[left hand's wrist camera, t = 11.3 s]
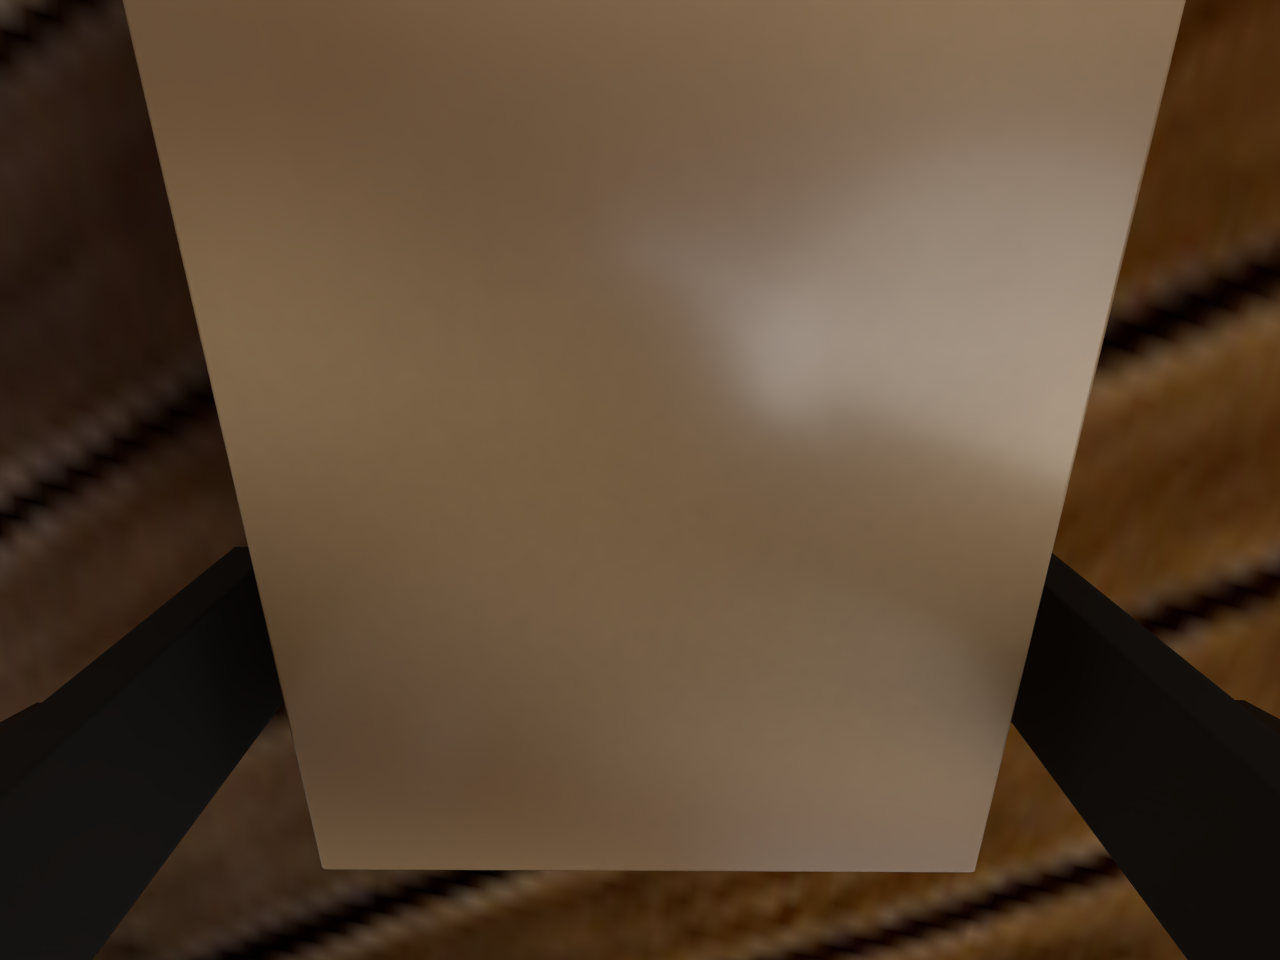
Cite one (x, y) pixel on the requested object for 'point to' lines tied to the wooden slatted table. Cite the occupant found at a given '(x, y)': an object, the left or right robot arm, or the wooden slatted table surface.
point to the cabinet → (651, 400)
